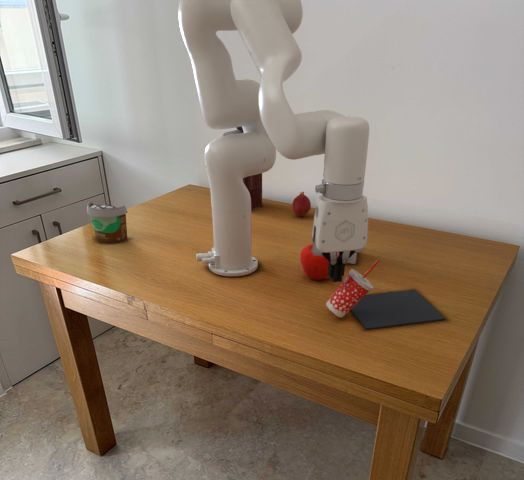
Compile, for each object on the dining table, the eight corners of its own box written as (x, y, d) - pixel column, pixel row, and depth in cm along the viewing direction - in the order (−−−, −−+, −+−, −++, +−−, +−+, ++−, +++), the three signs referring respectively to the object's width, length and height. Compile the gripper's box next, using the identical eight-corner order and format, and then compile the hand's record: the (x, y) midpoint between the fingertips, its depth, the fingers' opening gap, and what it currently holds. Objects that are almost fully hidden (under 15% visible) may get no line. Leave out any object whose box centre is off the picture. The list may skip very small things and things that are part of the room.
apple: (309, 288, 122) (311, 257, 117) (293, 273, 128) (294, 244, 124) (342, 281, 125) (345, 251, 120) (324, 267, 131) (326, 238, 127)
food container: (82, 241, 146) (75, 206, 141) (96, 234, 151) (90, 200, 146) (119, 247, 143) (113, 212, 137) (131, 239, 147) (126, 205, 142)
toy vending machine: (249, 213, 167) (248, 120, 151) (225, 206, 173) (221, 116, 157) (267, 207, 172) (268, 116, 157) (243, 200, 178) (241, 112, 163)
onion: (310, 220, 161) (312, 194, 157) (292, 219, 162) (293, 194, 157) (309, 213, 166) (310, 189, 162) (291, 213, 166) (292, 189, 162)
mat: (365, 329, 106) (366, 328, 105) (342, 299, 117) (342, 297, 117) (444, 320, 109) (445, 318, 109) (414, 290, 120) (414, 289, 120)
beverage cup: (331, 302, 113) (374, 253, 108) (349, 321, 111) (394, 271, 106) (318, 299, 108) (363, 247, 103) (337, 319, 106) (383, 267, 101)
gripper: (310, 198, 91) (305, 291, 101) (388, 192, 94) (376, 283, 104) (298, 186, 97) (295, 275, 107) (372, 182, 100) (362, 268, 110)
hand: (335, 279), depth 105 cm, fingers closed
